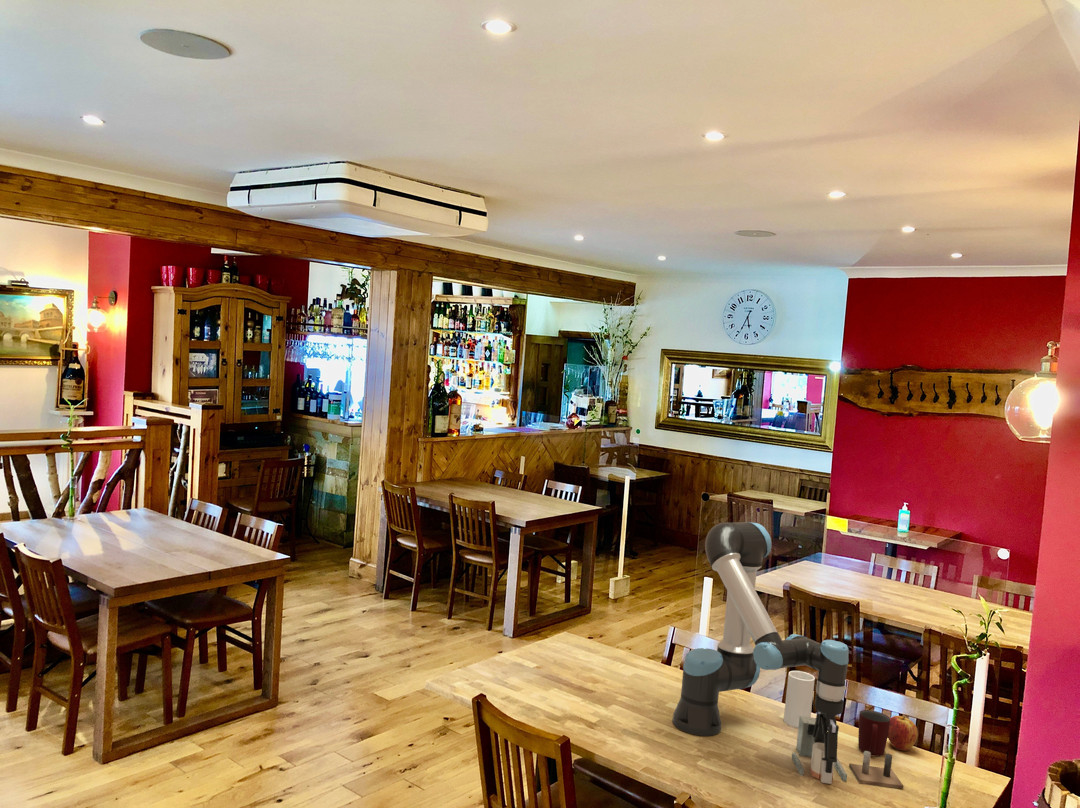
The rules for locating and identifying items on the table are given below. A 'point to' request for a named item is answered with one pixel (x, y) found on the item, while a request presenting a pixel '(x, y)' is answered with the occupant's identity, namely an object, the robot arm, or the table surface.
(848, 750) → the table surface
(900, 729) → the apple
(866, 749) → the mug
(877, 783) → the brown peg board
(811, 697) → the cup
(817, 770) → the sleeve
